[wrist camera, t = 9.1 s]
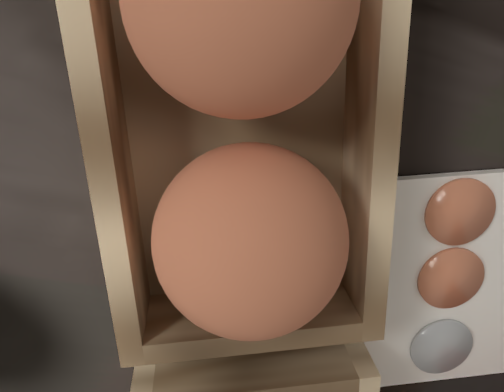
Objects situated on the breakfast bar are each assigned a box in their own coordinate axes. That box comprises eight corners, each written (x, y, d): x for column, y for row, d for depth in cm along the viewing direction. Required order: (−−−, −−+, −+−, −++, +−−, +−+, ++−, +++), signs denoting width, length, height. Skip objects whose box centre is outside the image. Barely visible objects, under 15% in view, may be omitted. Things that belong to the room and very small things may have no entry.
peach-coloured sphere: (121, -108, 13) (68, -192, 8) (327, -112, 14) (415, -193, 8) (146, 103, 16) (119, 155, 10) (323, 93, 16) (391, 136, 11)
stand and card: (-210, 222, 16) (-331, 285, 12) (542, 165, 19) (628, 204, 15) (-114, 436, 20) (-185, 534, 16) (502, 366, 22) (563, 436, 19)
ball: (167, 280, 18) (155, 399, 13) (149, 128, 16) (123, 191, 10) (319, 266, 19) (372, 375, 13) (322, 117, 16) (387, 171, 11)
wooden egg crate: (59, -162, 13) (16, -217, 10) (376, -165, 14) (429, -216, 11) (133, 308, 19) (120, 367, 16) (353, 287, 20) (384, 339, 17)
